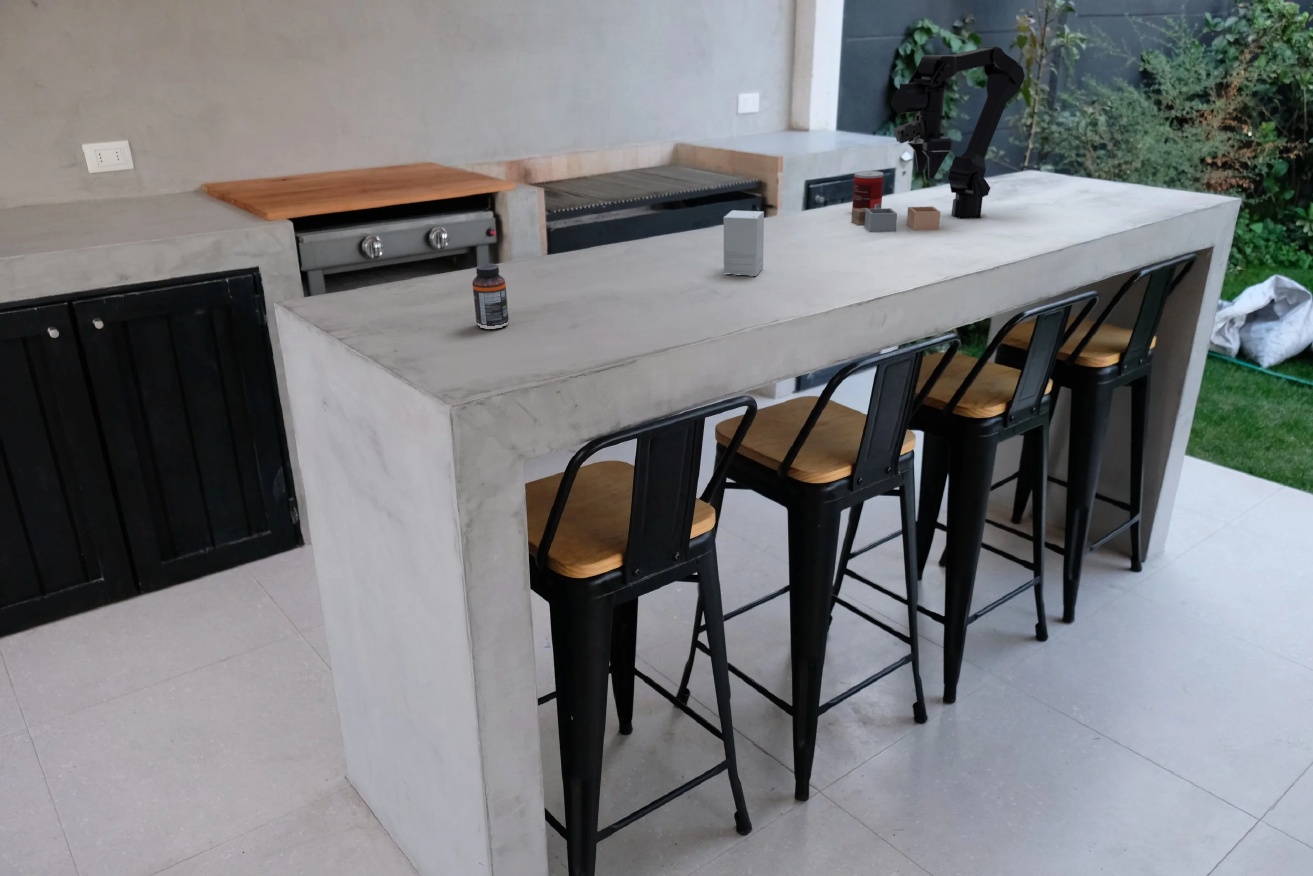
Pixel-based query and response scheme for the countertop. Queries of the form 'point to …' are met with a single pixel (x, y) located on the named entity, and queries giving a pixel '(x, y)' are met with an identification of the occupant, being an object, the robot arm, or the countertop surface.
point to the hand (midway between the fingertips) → (925, 175)
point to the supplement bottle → (490, 296)
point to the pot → (923, 218)
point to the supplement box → (743, 242)
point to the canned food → (868, 190)
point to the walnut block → (858, 216)
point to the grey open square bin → (880, 220)
